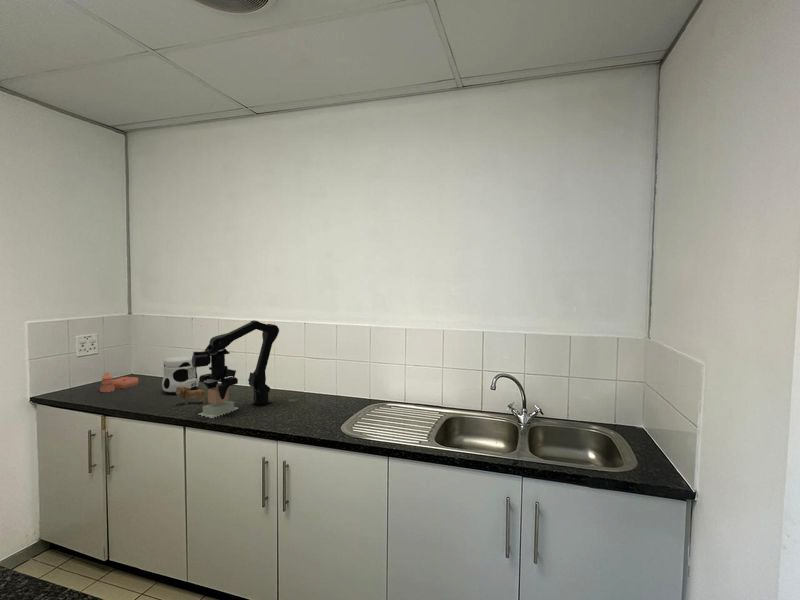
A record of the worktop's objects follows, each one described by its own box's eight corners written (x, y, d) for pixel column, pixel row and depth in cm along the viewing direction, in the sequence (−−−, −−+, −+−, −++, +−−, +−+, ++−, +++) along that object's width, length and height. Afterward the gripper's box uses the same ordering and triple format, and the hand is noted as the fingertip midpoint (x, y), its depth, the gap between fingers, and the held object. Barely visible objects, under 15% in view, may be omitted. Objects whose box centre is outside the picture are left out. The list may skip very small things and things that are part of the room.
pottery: (124, 383, 226) (124, 367, 226) (138, 384, 224) (138, 367, 224) (94, 392, 209) (93, 374, 208) (108, 393, 207) (108, 375, 206)
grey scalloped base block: (238, 409, 183) (238, 401, 183) (212, 418, 171) (212, 410, 171) (224, 406, 187) (224, 398, 187) (198, 415, 175) (198, 407, 174)
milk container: (164, 388, 217) (163, 356, 216) (199, 385, 224) (198, 354, 223) (160, 397, 201) (159, 362, 200) (198, 393, 208) (197, 359, 207)
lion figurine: (175, 406, 187) (174, 387, 186) (177, 403, 192) (176, 385, 191) (209, 403, 192) (209, 385, 191) (210, 400, 197) (210, 382, 196)
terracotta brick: (228, 399, 181) (228, 386, 180) (215, 403, 174) (215, 390, 174) (221, 398, 183) (220, 385, 183) (208, 402, 177) (207, 389, 176)
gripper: (247, 363, 181) (247, 396, 182) (218, 359, 189) (219, 391, 190) (227, 367, 171) (227, 403, 172) (197, 363, 179) (198, 397, 180)
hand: (218, 398), depth 179 cm, fingers closed on terracotta brick, 5 cm apart
